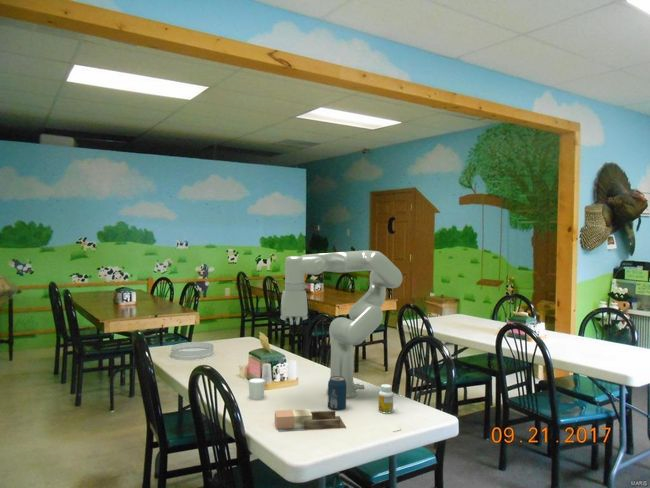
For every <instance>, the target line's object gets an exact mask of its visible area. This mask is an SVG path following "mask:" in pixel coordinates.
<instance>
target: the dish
mask: <svg viewBox="0 0 650 488" xmlns="http://www.w3.org/2000/svg"><path fill="white" fill-rule="evenodd" d="M213 354H215V351H214V344H213V343H210V342H204V341H191V342H190V341H188V342H181V343H177V344H173V345H172V346H171V351H170V357H171V358H172V359H173V358H174V360H177V361H186V360H187V361H197V360H196V359H202V360H205V359H204V358H207V357H210V356H212V355H213ZM213 356H214V355H213ZM213 356H212V357H213ZM210 358H211V357H210ZM207 359H208V358H207Z"/></svg>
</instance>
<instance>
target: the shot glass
mask: <svg viewBox="0 0 650 488" xmlns="http://www.w3.org/2000/svg"><path fill="white" fill-rule="evenodd" d="M265 388H266V379H264V378H259V377H256V378H254V377H253V378H250V379H249V380H248V392H249V399H250V400H252V401H253V400H254V401H260V400H263V399H264V397H265V391H266V389H265Z"/></svg>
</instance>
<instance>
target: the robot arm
mask: <svg viewBox="0 0 650 488" xmlns="http://www.w3.org/2000/svg"><path fill="white" fill-rule="evenodd" d="M284 264H285V267H284V272H285V273H284V279H285V280H284V290H282V294H281V298H280V299H281V302H280V319H281V320H283V321H286V322H287V323H288V324H289V333H291V335H292V336H297V334H298V333H299V325H300V323H301V322H302V321H305V320H307V319H309V318H308V298H307V292H306V289H308V288H309V284H306V283H305V275H312V276H313V275H321V274H322V273H323V272H332V273H352V272H361V271H363V272H364V271H370V274H369V288H368V290H367V291H366V293H364V295H362V297H360V298H359V299H358V301H356V302H355V303H354V304H353V305H352V306H350V309H349V311H348V316H349V318H350V319H349V318H347V317H340V316H339V317H335V318H334V319H333V320H332V321H331V322H330V325H329V328H328V330H329V331H328V333H329V339H330V374H329V375H330V377H333V376H340V377H344V378H345V381H346V399H349V398H354V397H356V396H357V392H358V390H365V384H360V383H355V382H354V366H355V364H354V362H355V361H354V360H355V357H354V356H355V355H354V354H355V352H354V351H355V350H354V346H358V345H360V344H362V343H364V342H365V341H366V339H367V338H369V336H370V335H371V334H373V332H374V331H376V329H377V328H379V326H380V325H381V323H382V322H383V318H384V313H383V309H382V308H381V307H382V306H383V305H384V303H385V301H386V294H387V289H396V288H399V287H400V286H401V285H402V283H403V273H402V272H401V270H400V269H399V268H398V267H397V266H396V265H395V264H394V263H393V262H392V261H391V260H390V259H389V258H388V257H387V256H386V255H384V254H383V253H382V252H381V251H377V250H351V251H338V252H337V251H336V252H327V253H312V254H311V253H309V254H302V255H300V256H299V255H289V256H287V257H286V258H285V263H284ZM293 318H295V319H294V320H293ZM330 377H329V378H330ZM325 394H326V395H327V396H328V388H327V389H326V392H325Z"/></svg>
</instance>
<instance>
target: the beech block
mask: <svg viewBox="0 0 650 488" xmlns="http://www.w3.org/2000/svg"><path fill="white" fill-rule="evenodd" d="M291 410H292V411H293V414H294V416H295V417H294V428H305V420H312V414H311V412H312V411H311V410H310V408H308V409H307V408H306V409H291Z"/></svg>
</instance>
